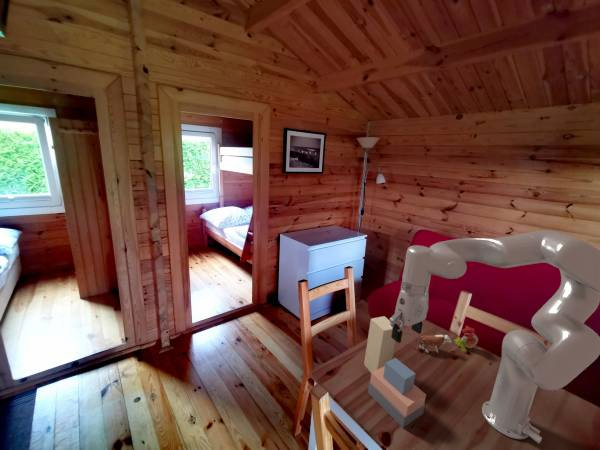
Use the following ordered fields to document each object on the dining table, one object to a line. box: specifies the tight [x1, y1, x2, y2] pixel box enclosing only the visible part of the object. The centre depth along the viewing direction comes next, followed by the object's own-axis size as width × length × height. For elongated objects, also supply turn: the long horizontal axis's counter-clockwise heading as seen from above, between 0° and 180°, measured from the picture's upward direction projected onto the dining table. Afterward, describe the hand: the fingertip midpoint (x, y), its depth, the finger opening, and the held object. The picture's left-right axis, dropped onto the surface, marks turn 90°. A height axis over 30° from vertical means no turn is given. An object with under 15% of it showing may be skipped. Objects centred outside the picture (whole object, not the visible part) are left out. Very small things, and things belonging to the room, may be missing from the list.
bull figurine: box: [418, 333, 453, 354], centre depth 119 cm, size 4×13×8 cm, turn 89°
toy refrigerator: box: [363, 315, 397, 374], centre depth 104 cm, size 8×7×21 cm
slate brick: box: [383, 357, 416, 395], centre depth 90 cm, size 8×5×6 cm, turn 31°
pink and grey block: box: [367, 366, 427, 429], centre depth 92 cm, size 15×10×8 cm, turn 31°
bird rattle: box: [453, 325, 479, 353], centre depth 122 cm, size 6×11×9 cm
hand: (406, 335), depth 86 cm, fingers open, 9 cm apart
